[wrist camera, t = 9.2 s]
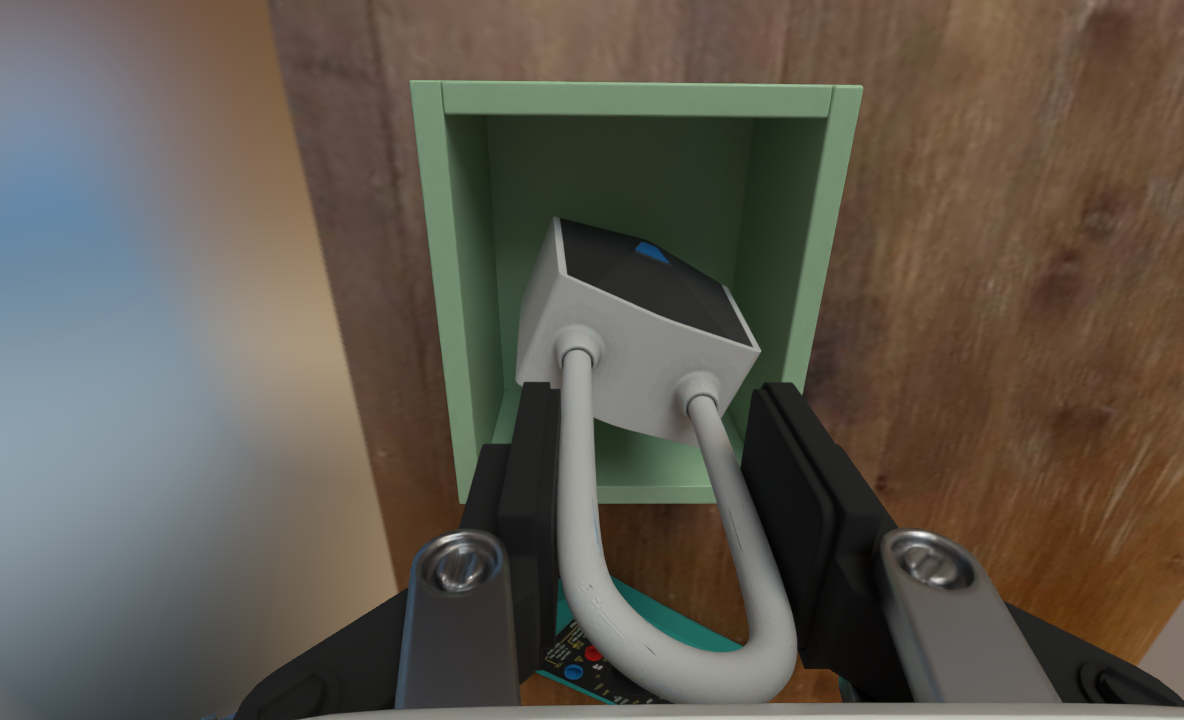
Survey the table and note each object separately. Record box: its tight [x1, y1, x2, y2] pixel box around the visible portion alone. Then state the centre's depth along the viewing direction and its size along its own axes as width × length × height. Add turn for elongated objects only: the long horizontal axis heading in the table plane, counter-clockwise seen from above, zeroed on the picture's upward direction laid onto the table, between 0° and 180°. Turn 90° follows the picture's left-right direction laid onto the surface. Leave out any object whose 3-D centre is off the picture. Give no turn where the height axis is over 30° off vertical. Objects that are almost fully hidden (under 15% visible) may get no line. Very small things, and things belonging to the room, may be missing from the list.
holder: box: [409, 80, 863, 504], centre depth 21 cm, size 12×14×8 cm
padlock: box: [515, 216, 797, 704], centre depth 14 cm, size 7×4×15 cm, turn 68°
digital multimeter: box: [536, 575, 743, 705], centre depth 34 cm, size 7×15×3 cm, turn 54°
